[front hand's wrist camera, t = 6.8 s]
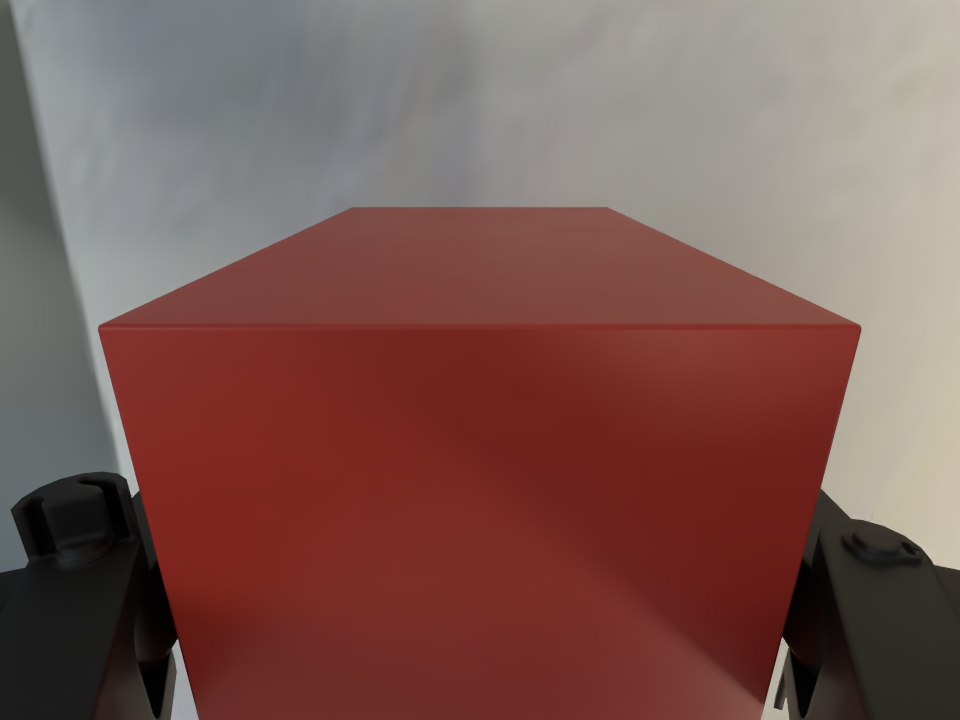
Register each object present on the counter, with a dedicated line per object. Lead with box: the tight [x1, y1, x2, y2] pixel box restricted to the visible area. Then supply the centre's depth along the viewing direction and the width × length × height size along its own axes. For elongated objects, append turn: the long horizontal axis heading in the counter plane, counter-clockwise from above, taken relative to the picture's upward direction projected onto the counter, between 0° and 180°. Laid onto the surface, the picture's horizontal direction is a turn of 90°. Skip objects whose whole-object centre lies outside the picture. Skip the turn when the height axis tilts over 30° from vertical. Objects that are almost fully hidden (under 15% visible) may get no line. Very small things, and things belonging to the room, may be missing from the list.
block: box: [98, 207, 861, 720], centre depth 12 cm, size 7×9×11 cm
